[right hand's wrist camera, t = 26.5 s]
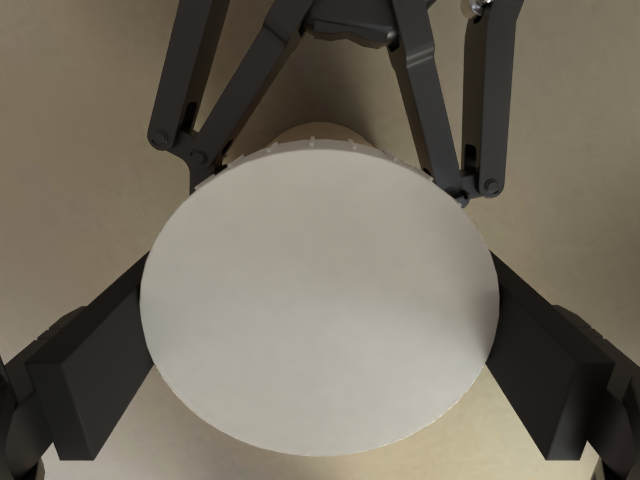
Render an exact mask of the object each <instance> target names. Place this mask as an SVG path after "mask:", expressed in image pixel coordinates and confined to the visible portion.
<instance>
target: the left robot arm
mask: <svg viewBox="0 0 640 480" xmlns="http://www.w3.org/2000/svg"><path fill="white" fill-rule="evenodd" d="M435 1H436V0H275V2H274V4H273V5H272V7H271V9H270V10H269V12H268V14H267V16H266V18H265V20H264V23H263V26H262V29H261V31H260V32H259V34H258V36H257V37H256V39H255V41H254V42H253V44H252V46H251V47H250V49H249V50H248V52H247V54H246V55H245V57H244V59H243V60H242V62H241V64H240V65H239V67H238V69H237V70H236V72H235V74H234V75H233V77H232V79H231V80H230V82H229V84H228V85H227V87H226V88H225V90H224V92H223V93H222V95H221V97H220V98H219V100H218V102H217V103H216V105H215V107H214V108H213V110H212V112H211V113H210V115H209V117H208V118H207V120H206V121H205V123H204V125H203V126H202V128H201V130H200V131H199V132H197V131H195V130H193V128H194V125H195V121H196V118H197V114H198V111H199V108H200V104H201V101H202V97H203V94H204V90H205V87H206V83H207V80H208V76H209V73H210V69H211V66H212V62H213V59H214V56H215V52H216V49H217V45H218V42H219V38H220V35H221V31H222V28H223V24H224V21H225V17H226V14H227V11H228V7H229V3H230V0H180V2H179V6H178V10H177V14H176V18H175V22H174V26H173V30H172V34H171V38H170V42H169V47H168V51H167V55H166V59H165V63H164V67H163V71H162V75H161V79H160V83H159V87H158V91H157V95H156V100H155V104H154V108H153V112H152V116H151V120H150V124H149V128H148V134H147V138H148V140H149V143H150V144H151V145H152V147H154V148H155V149H157V150H161V151H164V150H166V151H168V152H170V153H172V154H174V155H176V156H178V157H180V158H181V159H183V160H184V161H185V162H186V164H187V165H188V167H189V170H190V195H191V194H192V193H194V192H195V191H196V189H195V187H196V186H197V185H198V184H200V183H201V182H203V181H204V180H206V179H207V178H208V177H210V176H211V175H213V174H214V175H215V176H216V175H217V174H218V173H220V172H221V171H223V170H224V169H226V168H227V167H228V166H227V165H225V164H224V165H223V166H222V160H223V159H224V158H225V157H226V156H227V155H226V153H227V152H228V150H229V149H230V147H231V145H232V144H233V142H234V141H235V139H236V138H237V136H238V135H239V133H240V131H241V130H242V128H243V127H244V125H245V124H246V122H247V121H248V119H249V118H250V116H251V114H252V113H253V111H254V110H255V108H256V107H257V105H258V104H259V102H260V101H261V99H262V97H263V96H264V94H265V93H266V91H267V90H268V88H269V87H270V85H271V83H272V82H273V80H274V79H275V77H276V76H277V74H278V73H279V71H280V70H281V68H282V66H283V65H284V63H285V62H286V60H287V59H288V57H289V56H290V54H291V53H292V52H293V51H294V50H295V48H296V47H297V46H298V44H299V42H300V41H301V39H302V38H303V36H304V35H305V33H306V32H308V33H309V34H311V35H313V36H314V38H315V39H321V40H327V41H334V40H341V39H349V40H351V41H353V42H355V43H357V44H359V45H361V46H363V47H369V48H375V49H379V48H380V47H383V46H386V47H387V51H388V54H389V58H390V61H391V65H392V67H393V69H394V70H395V73H396V76H397V80H398V84H399V87H400V91H401V95H402V99H403V102H404V106H405V110H406V114H407V117H408V121H409V125H410V128H411V132H412V136H413V140H414V143H415V147H416V151H417V155H418V158H419V162H420V166H421V170H422V171H423V172H425V173H426V174H428V175H429V176H431V177H432V178H433V181H432V182H433V183H434V184H435V185H437V186H438V187H439V188H440V189H442V190H443V191H445V192H446V193H447V194H449V195H450V196H451V197H453V198H454V199H455V200H457V201H458V202H459V203H460V204H461V205H462V206H461V208H464V207H465V206H466V205H467V204H468V203H469V200H470V199H472V198H478V197H483V196H484V197H485V198H493V197H496V196H498V195H499V194H500V193H501V192H502V190H503V188H504V181H505V167H506V153H507V139H508V126H509V112H510V98H511V84H512V70H513V56H514V42H515V28H516V20H517V17H518V15H519V12H520V10H521V7H522V4H523V2H524V0H461V11H462V13H463V15H464V16H465V17H466V18H468V19H469V20H468V24H467V29H466V34H465V45H464V78H463V115H462V152H461V170H459V165H458V161H457V157H456V152H455V148H454V144H453V139H452V135H451V130H450V126H449V122H448V117H447V113H446V109H445V104H444V100H443V96H442V91H441V87H440V82H439V78H438V74H437V69H436V65H435V61H434V51H435V45H434V39H433V35H432V30H431V26H430V21H429V17H428V12H427V10H428V9H429V8H430V7H431V6H432V4H433V3H434V2H435Z"/></svg>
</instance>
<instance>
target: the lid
mask: <svg viewBox="0 0 640 480" xmlns="http://www.w3.org/2000/svg"><path fill="white" fill-rule="evenodd" d="M227 166H228V167H227V168H226V169H224V170H223V171H221V172H220V173H218V174H217V175H216V176H215V175H214V174H213V175H211V176H210V177H208V178H207V179H206V180H204V181H203V182H201V183H200V184H198V185H197V186H196V187H195V189H196V191H195V192H194V193H192V194H191V195H190V196H189V197H188V198H187V199H186V200H185V201H183V202H182V203H181V204H180V205H179V207H178V208H177V209H176V210H175V211H173V212H172V213H171V214H170V215H169V219H168V220H167V221H166V222H165V224H164V226H163V227H162V229H161V231H160V232H159V234H158V236H157V237H156V239H155V241H154V243H153V245H152V247H151V250H150V252H149V255H148V257H147V260H146V262H145V267H144V271H143V276H142V280H141V288H140V303H139V305H140V315H141V321H142V326H143V331H144V335H145V340H146V344H147V348H148V350H149V352H150V355H151V357H152V360H153V362H154V364H155V366H156V367H157V369H158V371H159V373H160V374H161V376H162V378H163V379H164V381H165V382H166V383H167V385H168V386H169V387H170V389H171V390H172V391H173V392H174V394H175V395H176V396H177V397H178V398H179V399H180V400H181V401H182V402H183V403H184V404H185V405H186V406H187V407H188V408H189V409H190V410H191V411H193V412H194V413H195V414H196V415H198V416H199V417H200V418H201V419H203V420H204V421H205V422H207V423H209V424H210V425H212V426H213V427H215V428H216V429H218V430H219V431H221V432H223V433H225V434H227V435H229V436H231V437H233V438H235V439H237V440H240V441H243V442H245V443H248V444H250V445H253V446H256V447H259V448H263V449H267V450H271V451H274V452H280V453H286V454H291V455H302V456H338V455H347V454H355V453H359V452H364V451H369V450H373V449H376V448H380V447H383V446H386V445H389V444H392V443H394V442H397V441H399V440H401V439H404V438H406V437H409V436H410V435H412V434H414V433H416V432H418V431H419V430H421V429H423V428H425V427H427V426H428V425H429V424H431V423H432V422H434V421H435V420H437V419H438V418H439V417H441V416H442V415H443V414H444V413H446V412H447V411H448V410H449V409H450V408H451V407H452V406H453V405H455V404H456V403H457V402H458V401H459V399H460V398H461V397H462V396H463V395H464V394H465V393H466V392H467V390H468V389H469V388H470V387H471V385H472V384H473V382H474V381H475V379H476V378H477V376H478V375H479V374H480V372H481V370H482V368H483V366H484V364H485V362H486V360H487V358H488V356H489V354H490V351H491V348H492V345H493V342H494V338H495V334H496V329H497V324H498V319H499V303H500V295H499V287H498V279H497V273H496V270H495V267H494V263H493V260H492V256H491V253H490V251H489V249H488V247H487V245H486V243H485V241H484V239H483V237H482V235H481V233H480V232H479V230H478V229H477V227H476V226H475V224H474V223H473V221H472V220H471V218H470V217H469V216H468V214H467V213H466V212H465V211H464V210H463V209H462V208H461V206H462V205H461V204H460V203H459V202H458V201H457V200H455V199H454V198H453V197H451V196H450V195H449V194H447V193H446V192H445V191H443V190H442V189H440V188H439V187H438V186H437V185H435V184H434V183H433V182H432V181H433V178H432V177H431V176H429V175H428V174H426V173H425V172H423V171H422V170H420V169H419V168H418V167H416V166H415V167H414V168H413V167H411V166H410V165H408V164H406V163H404V162H403V161H401V160H399V159H398V158H397V157H395V156H394V155H393V154H391V153H390V152H389V151H388V150H386V149H384V150H383V152H382V151H380V150H377V149H375V148H372V147H369V146H365V145H361V144H357V143H354V141H353V140H352V139H348V141H339V140H330V139H315V137H314V136H313V137H311V139H310V140H299V141H293V142H287V143H281V144H278V142H274V143H273V144H272V145H271V146H270V147H268V148H265V149H261V150H259V151H256V152H254V153H252V154H250V155H248V156H246V157H244V155H241V156H239V157H238V158H237V159H235V160H234V161H232V162H231V163H230V164H228V165H227Z"/></svg>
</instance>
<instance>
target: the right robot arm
mask: <svg viewBox="0 0 640 480" xmlns="http://www.w3.org/2000/svg"><path fill="white" fill-rule="evenodd" d="M489 251H490V250H489ZM149 252H150V251H149ZM149 252H147V253H146V254H145V255H144V256H143V257H142V258H141V259H140V260H138V261H137V262H136V263H135V264H134V265H133V266H132V267H131V268H129V269H128V270H127V271H126V272H125V273H124V274H123V275H122V276H120V277H119V278H118V279H117V280H116V281H115V282H114V283H113V284H111V285H110V286H109V287H108V288H107V289H106V290H105V291H104V292H102V293H101V294H100V295H99V296H98V297H97V298H96V299H95V300H93V301H92V302H91V303H90V304H89V305H88V306H81V307H79V308H78V309H76V310H74V311H72V312H70V313H68V314H66V315H64V316H63V317H61V318H60V319H59V320H58V321H57V322H55V323H54V324H53V325H52V326H51V327H50V328H49V330H46V331H45V332H44V333H42V334H41V335H40V336H39V337H38V338H37V340H34V341H33V342H32V343H31V344H29V345H28V346H27V347H26V348H25V349H23V350H22V351H21V352H20V353H19V354H18V355H16V356H15V357H14V358H13V359H12V360H10V361H9V362H8V363H7V364H6V365H4V364H3V361H2V359H1V356H0V480H44V475H45V470H44V464H43V462H42V459H41V456H42V455H43V454H44V453H45V451H46V450H47V449H48V447H49V446H50V445H51V444H52V442H53V443H54V445H55V448H56V451H57V453H58V456H59V459H60V460H94V459H95V458H96V456H97V455H98V453H99V451H100V450H101V448H102V447H103V445H104V443H105V442H106V440H107V439H108V437H109V435H110V434H111V432H112V431H113V429H114V427H115V426H116V424H117V423H118V421H119V419H120V418H121V416H122V415H123V413H124V411H125V410H126V408H127V407H128V405H129V403H130V402H131V400H132V399H133V397H134V395H135V394H136V392H137V391H138V389H139V387H140V386H141V384H142V383H143V381H144V379H145V378H146V376H147V375H148V373H149V371H150V370H151V368H152V367H153V365H154V362H153V360H152V357H151V355H150V352H149V350H148V348H147V344H146V340H145V335H144V331H143V326H142V321H141V315H140V305H139V303H140V288H141V280H142V276H143V271H144V267H145V262H146V260H147V257H148V255H149ZM490 253H491V256H492V260H493V263H494V267H495V270H496V273H497V279H498V287H499V295H500V303H499V319H498V324H497V329H496V334H495V338H494V342H493V345H492V348H491V351H490V354H489V356H488V358H487V360H486V362H485V364H486V365H487V367H488V369H489V370H490V372H491V373H492V375H493V377H494V378H495V380H496V381H497V383H498V385H499V386H500V388H501V389H502V391H503V393H504V394H505V396H506V397H507V399H508V401H509V402H510V404H511V405H512V407H513V409H514V410H515V412H516V413H517V415H518V417H519V418H520V420H521V421H522V423H523V425H524V426H525V428H526V429H527V431H528V433H529V434H530V436H531V437H532V439H533V441H534V442H535V444H536V445H537V447H538V449H539V450H540V452H541V453H542V455H543V457H544V458H545V460H580V458H581V455H582V453H583V450H584V447H585V445H586V442H587V441H588V442H589V443H590V444H591V446H592V447H593V448H594V450H595V451H596V452H597V453H598V455H599V456H600V457H599V459H598V462H597V464H596V467H595V469H594V472H593V474H592V477H591V479H590V480H640V367H639V366H638V365H636V364H635V363H634V362H633V361H632V360H630V359H629V358H628V357H627V356H626V355H624V354H623V353H622V352H621V351H620V350H619V349H617V348H616V347H615V346H614V345H613V344H611V343H610V342H609V341H608V340H607V339H603V336H602V335H601V334H599V333H598V332H597V331H596V330H595V329H591V326H590V325H589V324H587V323H586V322H585V321H584V320H583V319H582V318H580V317H579V316H578V315H576V314H575V313H573V312H571V311H569V310H567V309H565V308H563V307H561V306H559V305H551V304H550V303H549V302H547V301H546V300H545V299H544V298H543V297H542V296H541V295H540V294H538V293H537V292H536V291H535V290H534V289H533V288H532V287H531V286H529V285H528V284H527V283H526V282H525V281H524V280H523V279H522V278H520V277H519V276H518V275H517V274H516V273H515V272H514V271H513V270H511V269H510V268H509V267H508V266H507V265H506V264H505V263H504V262H502V261H501V260H500V259H499V258H498V257H497V256H496V255H495V254H493V253H492V252H491V251H490Z"/></svg>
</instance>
